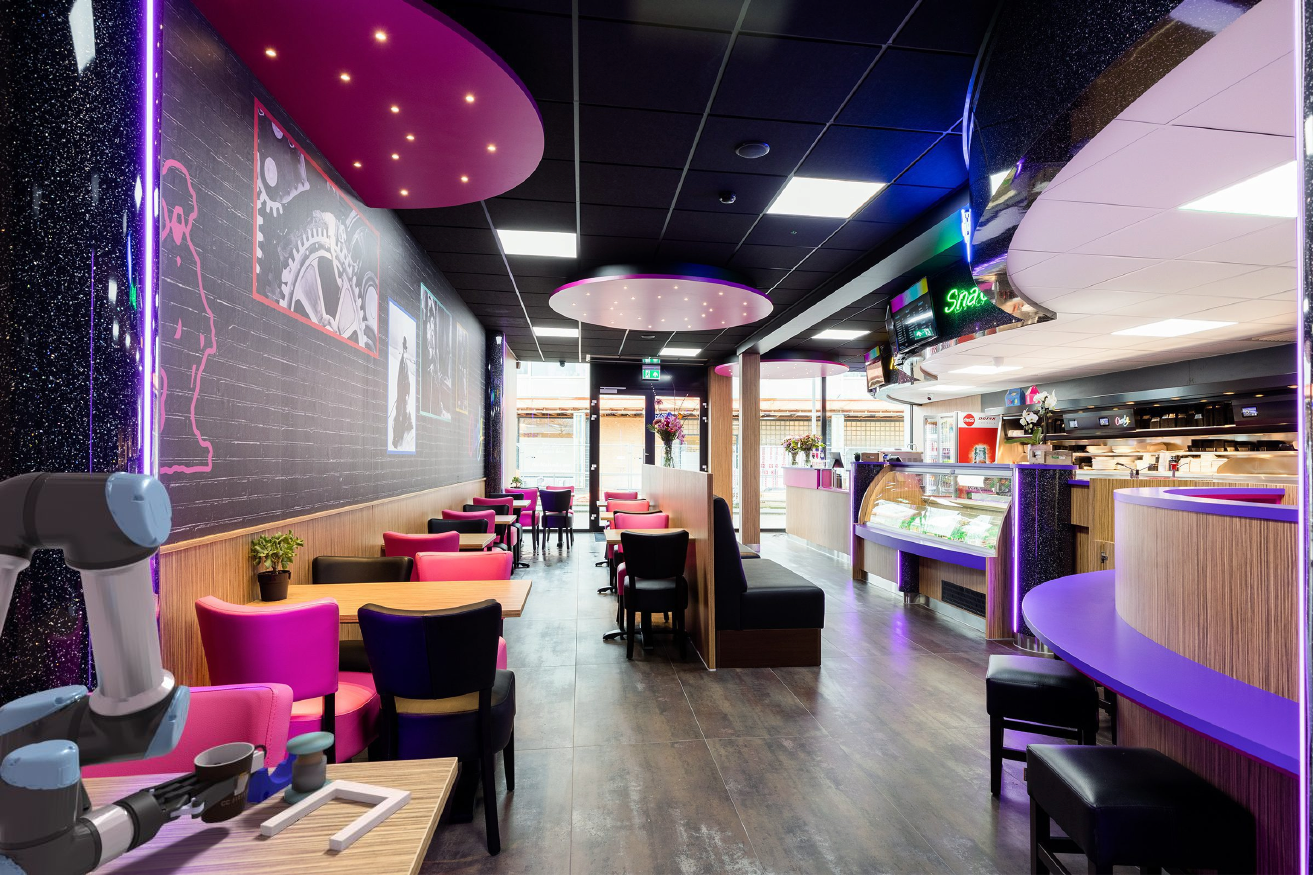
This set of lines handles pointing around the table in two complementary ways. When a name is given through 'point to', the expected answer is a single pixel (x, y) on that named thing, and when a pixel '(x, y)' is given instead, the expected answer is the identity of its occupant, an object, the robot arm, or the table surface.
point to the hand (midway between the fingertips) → (259, 758)
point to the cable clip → (270, 781)
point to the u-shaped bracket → (381, 796)
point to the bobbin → (308, 765)
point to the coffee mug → (227, 768)
